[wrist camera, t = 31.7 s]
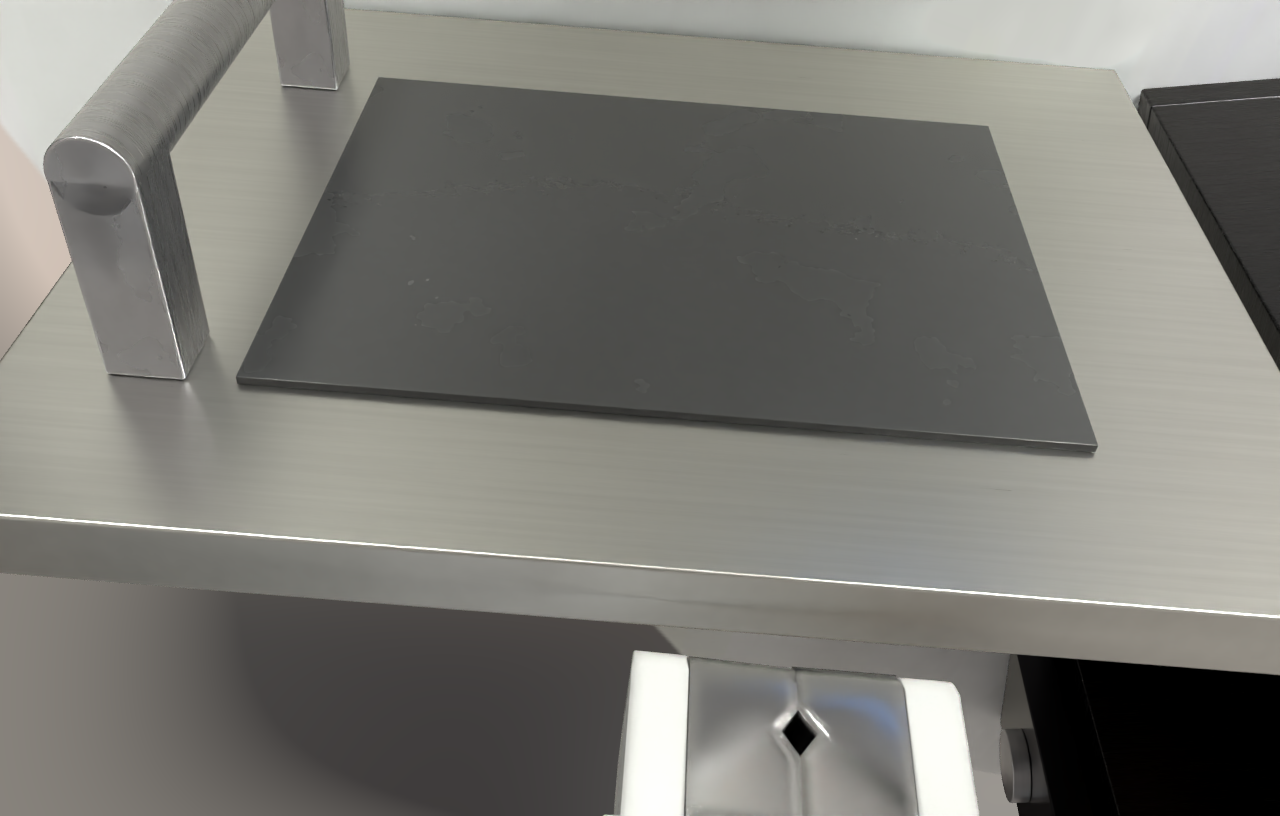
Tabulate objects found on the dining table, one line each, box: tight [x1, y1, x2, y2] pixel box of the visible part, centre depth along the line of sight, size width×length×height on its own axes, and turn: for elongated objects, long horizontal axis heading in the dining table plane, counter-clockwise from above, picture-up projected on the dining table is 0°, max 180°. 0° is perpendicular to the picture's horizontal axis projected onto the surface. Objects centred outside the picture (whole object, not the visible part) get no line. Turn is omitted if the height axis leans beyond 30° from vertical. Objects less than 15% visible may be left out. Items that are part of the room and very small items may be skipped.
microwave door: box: [0, 0, 1280, 675], centre depth 28 cm, size 7×27×22 cm, turn 86°
